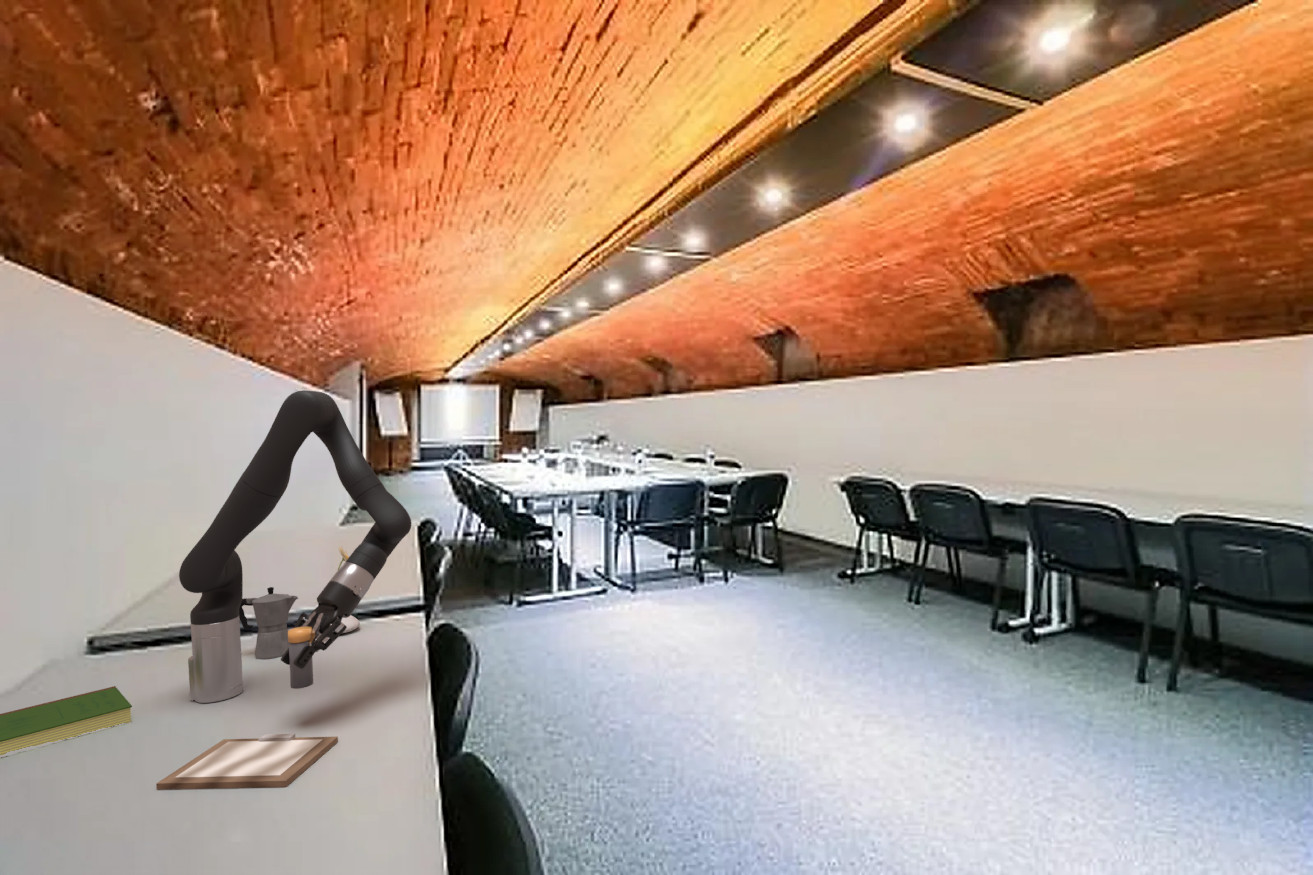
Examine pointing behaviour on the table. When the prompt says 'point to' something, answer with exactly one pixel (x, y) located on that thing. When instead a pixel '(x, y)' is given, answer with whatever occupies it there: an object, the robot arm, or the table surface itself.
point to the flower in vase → (350, 621)
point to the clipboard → (250, 763)
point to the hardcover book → (63, 719)
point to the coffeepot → (269, 623)
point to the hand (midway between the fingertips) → (291, 664)
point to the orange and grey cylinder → (296, 644)
